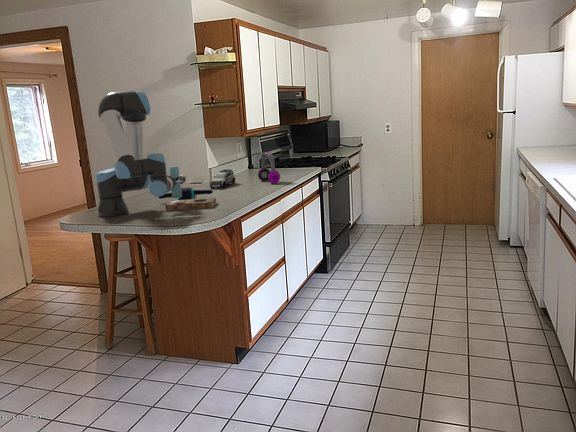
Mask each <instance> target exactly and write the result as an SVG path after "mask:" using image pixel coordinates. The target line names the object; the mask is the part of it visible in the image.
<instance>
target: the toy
mask: <svg viewBox="0 0 576 432" xmlns="http://www.w3.org/2000/svg"><path fill="white" fill-rule="evenodd" d="M181 192H182V197H180V198H176V200H189V199H195V198H194V196H198V195H211V194H213V193H214V191H213V190H212V189H193V188H192V187H181ZM157 198H158V199H160V200H161V199H167V198H168V199H169V198H172V192H167V193H166V194H165V195H163V196H159V197H157Z"/></svg>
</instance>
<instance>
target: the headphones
mask: <svg viewBox="0 0 576 432" xmlns="http://www.w3.org/2000/svg"><path fill="white" fill-rule="evenodd" d="M260 155H261V156H260V169H259V170H258V172H257V177H258V179H259V180H260V181H261V182H267V181H268V183H270V184H272V185H273V184H274V185H275V184H278V183H279V182H280V179H281V175H280V172H279V171H278V170H276V165H275V163H276V162H275V158H274V155H273V153H272V152H271V151H267V152H262V153H261V154H260ZM267 159H268V162H269V163H270V170H269V169H268V168H266V167H265V166H266V160H267Z"/></svg>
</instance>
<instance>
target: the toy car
mask: <svg viewBox="0 0 576 432" xmlns="http://www.w3.org/2000/svg"><path fill="white" fill-rule="evenodd" d="M235 176H236V175H235V174H234V171H233V169H229V168H227V169H222V170H220V171H218V172H217V173H216V174H215V175H213V179H211V180H210V182H209V188H210V189H215V188H222V189H226V188H227V185H230V184H231V185H235V183H236V177H235Z"/></svg>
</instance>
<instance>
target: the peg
mask: <svg viewBox="0 0 576 432" xmlns="http://www.w3.org/2000/svg"><path fill="white" fill-rule="evenodd" d="M167 169H168V174H169V175H168V176H171V177H172V178H177V177H179V176H180V172H179V171H180V169H179V165H172V166H168V168H167ZM181 185H182V184H179V183H177V184H176V185H175V187H174V188H173V189H172V190H171V192H170V193H172V197H171V198H172V199H178V198H180V197H182V192H181V188H182V186H181Z"/></svg>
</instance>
